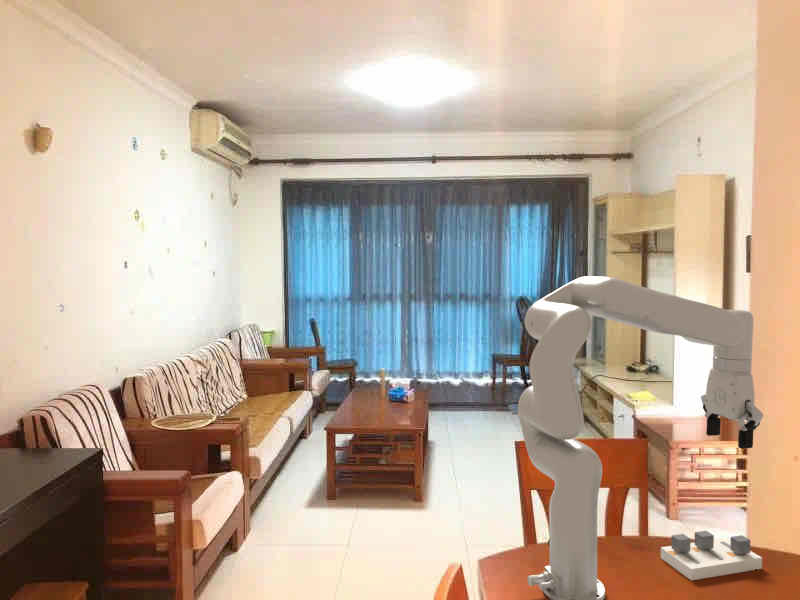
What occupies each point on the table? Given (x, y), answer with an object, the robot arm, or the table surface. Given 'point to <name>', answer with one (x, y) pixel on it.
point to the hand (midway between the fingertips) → (728, 441)
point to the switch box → (710, 560)
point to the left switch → (680, 543)
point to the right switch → (740, 545)
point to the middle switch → (704, 540)
